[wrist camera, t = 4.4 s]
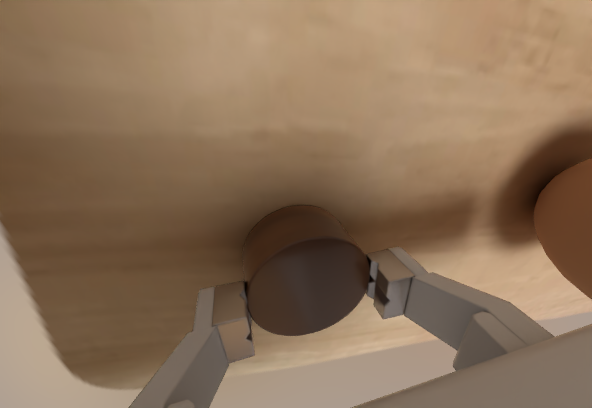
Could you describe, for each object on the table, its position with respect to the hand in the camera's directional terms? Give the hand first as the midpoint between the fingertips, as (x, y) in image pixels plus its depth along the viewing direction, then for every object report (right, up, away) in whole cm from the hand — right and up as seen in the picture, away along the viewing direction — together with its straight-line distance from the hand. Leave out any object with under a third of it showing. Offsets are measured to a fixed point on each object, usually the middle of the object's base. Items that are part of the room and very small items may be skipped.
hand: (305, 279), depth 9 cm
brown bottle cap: (0, +1, +2) cm, 2 cm away
